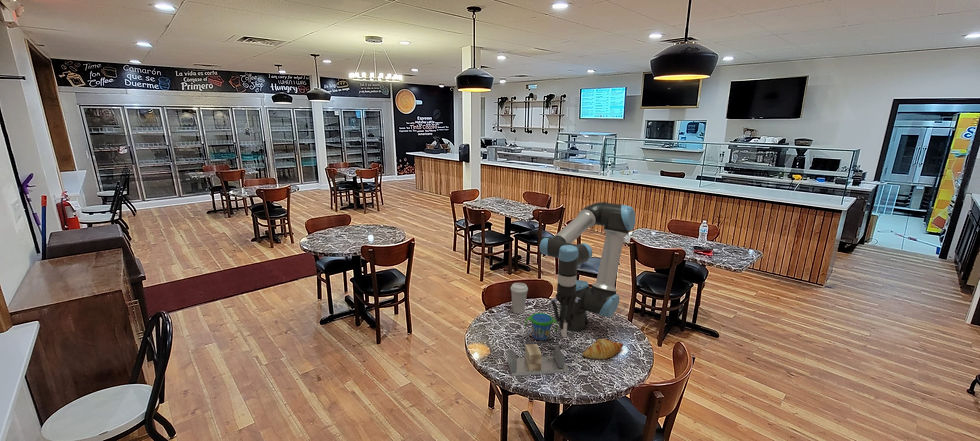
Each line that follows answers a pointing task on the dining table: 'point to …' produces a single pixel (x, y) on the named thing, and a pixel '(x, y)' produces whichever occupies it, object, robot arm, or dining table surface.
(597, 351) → the croissant
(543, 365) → the vise bed
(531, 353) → the block
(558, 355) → the sliding jaw
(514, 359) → the fixed jaw
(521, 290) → the coffee cup
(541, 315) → the snack cup
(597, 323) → the dining table surface
